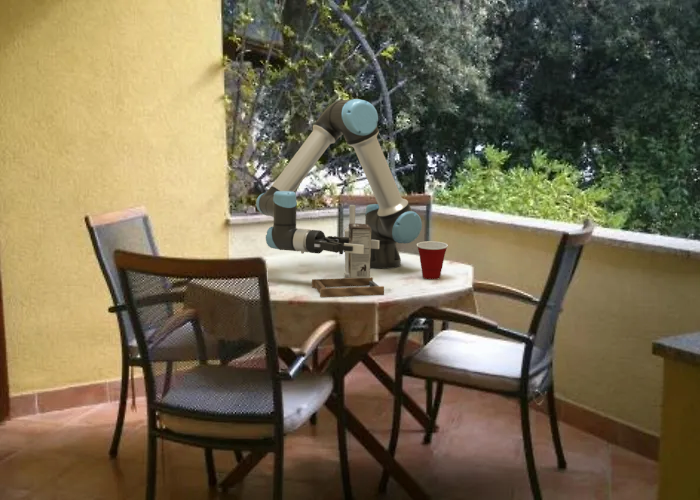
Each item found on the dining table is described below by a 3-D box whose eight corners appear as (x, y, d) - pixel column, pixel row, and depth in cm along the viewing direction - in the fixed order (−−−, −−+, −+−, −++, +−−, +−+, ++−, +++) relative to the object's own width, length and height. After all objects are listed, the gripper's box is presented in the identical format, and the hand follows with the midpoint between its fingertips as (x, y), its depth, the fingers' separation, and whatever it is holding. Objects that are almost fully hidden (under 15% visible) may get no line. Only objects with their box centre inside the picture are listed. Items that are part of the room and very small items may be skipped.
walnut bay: (371, 284, 262) (371, 277, 262) (383, 294, 247) (384, 286, 247) (312, 287, 258) (312, 279, 257) (320, 297, 243) (320, 289, 242)
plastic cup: (415, 280, 269) (415, 245, 267) (415, 274, 280) (416, 240, 278) (447, 281, 268) (448, 246, 266) (447, 275, 279) (448, 241, 277)
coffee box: (347, 272, 257) (348, 223, 254) (367, 272, 257) (368, 223, 255) (349, 278, 248) (350, 227, 245) (370, 278, 248) (371, 227, 246)
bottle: (361, 277, 275) (362, 205, 270) (356, 279, 270) (357, 206, 266) (347, 275, 276) (347, 204, 272) (342, 278, 271) (342, 205, 267)
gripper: (327, 247, 270) (386, 253, 260) (291, 257, 249) (354, 264, 239) (327, 225, 268) (386, 231, 259) (291, 233, 248) (354, 239, 238)
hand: (371, 247), depth 249 cm, fingers closed on coffee box, 11 cm apart
